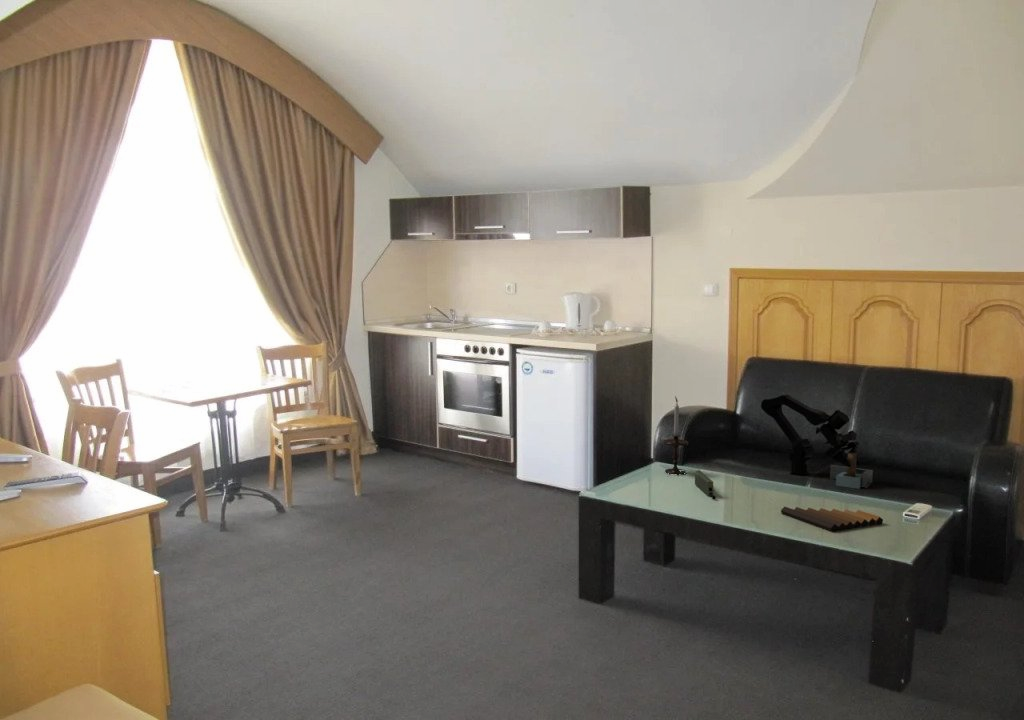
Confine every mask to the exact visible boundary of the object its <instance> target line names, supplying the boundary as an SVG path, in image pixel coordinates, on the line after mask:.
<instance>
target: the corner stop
mask: <svg viewBox="0 0 1024 720" xmlns="http://www.w3.org/2000/svg"><path fill="white" fill-rule="evenodd" d="M829 468H830V469H829V470H830V471H829V472H830V473H829V479H830V478H833V479H836V476H837V475H838V474H840V473H842V472H847V466H846V465H836V464H831V465H830V467H829ZM873 472H874V469H866V468H858V467H856V474H862V486H865V487H867V486H868V485H869V484H871V483H872V484H873V477H874V476H873ZM833 479H832V480H833ZM872 484H871V485H872Z"/></svg>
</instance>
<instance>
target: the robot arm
mask: <svg viewBox="0 0 1024 720" xmlns="http://www.w3.org/2000/svg"><path fill="white" fill-rule="evenodd" d="M784 405H785V406H786V407H788V408H789V409H791V410H793V411H795V412H796V413H798V414H800V415H801V416H803V417H804V418H805V419H806V421H807V422H808V423H809V424H811V425H813V426H814V427H815V426H818V427H815V434H816V435H817V434H821V435H822V436H823V437H824V439H825V440H826V442H825V444H827V445H830V447H829V448H828V449H827V450H825V451H824V455H825V457H826V458H827V459H830V458H831V459H832V460H834V461H836V462H839V463H840V464H842V465H843V466H845V467H850V466H851V465H850V463H849V461H848V460H847V457H848V453H857V449H858V447H860V443H859V442H858V441H857V436H858V434H857V433H856V432H855V431H854V430H851V431H847V433H846V434H843V433H842V432H841V433H839V432H838V431H839V430H841V429H842V428H844V426H846V425H847V424H848V423H849V422H850V418H849V415H847V414H845V412H843V411H841V410H840V409H837V410H835V411H834V412H833V413H832V414H831V415H829V414H827V413H826V411H823V410H820V409H816V408H813V407H811V406H808V405H806V404H804V403H803V402H801V401H799V400H797V399H796V398H795V397H793V396H791V395H789V394H781V395H780V396H779V395H778V396H775V397H771V398H765V399H763V400H761V404H760V408H761V410H762V411H763V412H764V413H765V414H766V415H767V416H769V417H770V418H772V419H773V420H774V421H775V423H776V424H777V426H778V427H779V428H780V430H781V431H782V433H783V434H784V435H785V436H786V438H787V439H788V441H789V442H790V444H791V450H792V452H791V454H790V455H788V458H789V459H788V460H789V461H790V462H791V467H790V471H791V472H790V473H789V474H790V475H796V476H803V477H804V476H806V475H808V474H809V470H810V468H809V465H810V464H809V461H810V459H811V457H812V456H813V455H814V451H815V450H814V447H813V446H814V445H813V444H812V443H810V440H809V439H808V438H802V437H801V436H800V435H799V433H798V432H797V430H796V429H795V427H793V425H792V424H791V422H790V421H789V420H788V418H787V417H786V415H785V414H784V413H783V407H782V406H784ZM859 465H860V460H859V457H858V456H857V459H856V466H859ZM807 473H808V474H807Z"/></svg>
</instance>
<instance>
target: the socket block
mask: <svg viewBox="0 0 1024 720" xmlns="http://www.w3.org/2000/svg"><path fill="white" fill-rule="evenodd" d="M846 475H847V472H842V473H840V474H838V475H837V476H836V480H835V486H839V487H844V488H845V487H846V488H852V489H861V488H862V487H861V486H862V474H856V477H849V476H846ZM860 487H861V488H860Z"/></svg>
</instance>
